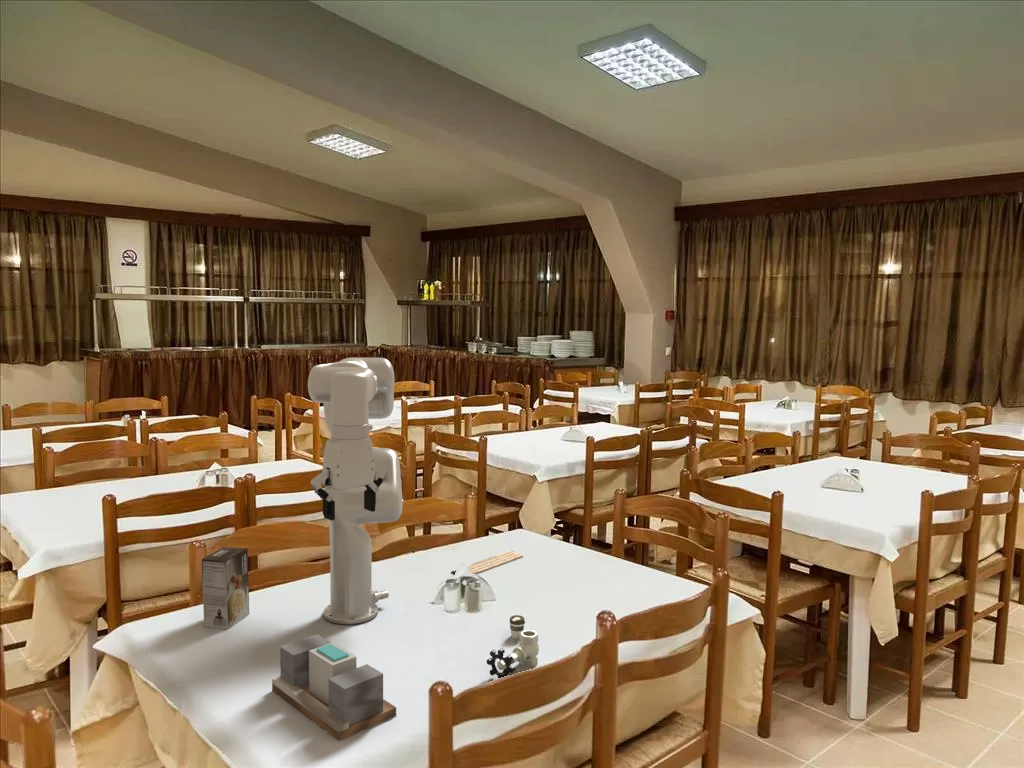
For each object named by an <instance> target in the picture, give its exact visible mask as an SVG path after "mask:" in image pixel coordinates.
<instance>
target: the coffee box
mask: <svg viewBox="0 0 1024 768" xmlns="http://www.w3.org/2000/svg"><path fill="white" fill-rule="evenodd" d="M248 550H249V548H246V547H245V548H243V547H232V546H231V547H230V546H222V547H220V548H219V549H217V550H216V551H214V552H212V553H210V554H208V555H207V556H204V557H203V558H201V572H202V574H201V577H202V600H203V601H202V603H203V605H202V606H203V627H205V628H212V629H222V630H224V629H225V630H229V629H231V628H232V627H234V626H235V625H236V624H238V623H239V622H241V620H243V619H244V618H246V617H247V616H249V615H250V590H249V589H250V588H249V587H250V586H249V584H250V583H249V551H248Z"/></svg>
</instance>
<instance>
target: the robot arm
mask: <svg viewBox="0 0 1024 768" xmlns="http://www.w3.org/2000/svg"><path fill="white" fill-rule="evenodd" d="M307 389H308V390H307V391H308V395H309V398H310V399H311V400H312V401H313V402H315V403H318V404H319V403H320V404H322V403H323V412H324V413H323V414H324V418H325V422H326V423H325V424H326V426H327V428H328V431H329V432H330V438H329V439H327V440H326V443H325V447H324V451H323V459H322V460H323V461H322V470H321V471H322V472H320V473H319V474H317V475H316V476H314V477H313V478H312V479H311V480H310V484H311V486H312V488H313V490H314V493H315V494H316V496H317V495H318V497H319V498H320V499H321V500H322V515H323V518H324V519H326V520H328V528H329V554H330V555H329V556H330V557H329V558H330V559H329V560H330V565H329V569H330V570H329V571H330V573H329V574H330V576H329V577H330V581H329V582H330V583H329V584H330V586H329V587H330V603H329V604H328V605H327V606H326V607H325V608H324V610H323V618H324V619H326V620H327V621H328V622H331V623H333V624H339V625H354V624H356V625H357V624H361V623H365V622H368V621H370V620H373V619H374V618H376V616H378V614H379V606H378V605H377V604H376V603H378V602H379V601H381V600H384V599H388V598H389V596H390V595H389V594H390V593H389V592H388V590H386V589H385V590H384V589H383V590H381V591H379V590H377V589H373V590H372V583H373V582H372V577H373V576H372V573H373V572H372V564H373V563H372V557H373V556H372V553H373V552H372V548H373V546H372V540H371V537H370V535H369V533H368V532H367V531H366V530H365V528H364V527H363V526H362V525H363V524H364V525H365V524H381V523H382V524H383V523H385V524H386V523H391V522H392V523H393V522H395V521H397V520H398V519H400V517H401V515H402V512H403V490H402V476H401V474H402V473H401V463H400V459H399V455H398V453H397V452H396V451H395V450H394V449H392V448H388V447H387V448H386V447H373V442H372V439H371V437H370V436H369V435H370V434H369V433H370V431H373V428H374V427H373V425H372V424H371V423H369V420H378V419H379V420H382V419H386V418H389V417H390V416H391V415H392V413H393V411H394V410H393V409H394V403H395V402H394V401H395V371H394V367H393V365H392V363H391V361H390V360H388V359H387V358H385V357H346V358H342V359H341V360H340V361H335V362H330V363H322V364H316V365H314V366H313V367H312V368H311V370H310V372H309V375H308V379H307ZM322 485H323V486H324V488H323V487H322ZM378 591H379V592H378Z"/></svg>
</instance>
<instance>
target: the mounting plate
mask: <svg viewBox="0 0 1024 768" xmlns="http://www.w3.org/2000/svg"><path fill="white" fill-rule="evenodd" d="M329 643H332V642H331V641H330V640H328V639H326V638H324V637H323V636H321V635H320V634H318V633H317V634H315V635H311V636H308V637H305V638H301V639H299V640H296V641H293V642H290V643H287V644H284V645H281V646H280V648H279V649H280V650H279V653H280V664H279V665H280V675H278V676H275V677H271V688H272V692H273V693H274V694H276V695H277V696H278V697H280V698H281V699H283V700H284V701H285V702H286V703H287V704H289V705H290V706H292V707H293V708H294V709H295V710H296V711H298V712H300V714H302V715H304V716H305V717H306V718H308V719H309V720H310V721H312V722H313V723H314V724H315V725H316V726H318V727H319V728H321V729H322V730H323V731H325V732H326V733H328V734H329V735H330V736H331V737H333V738H334V739H335V740H337V741H338V742H339V741H341V740H344V739H346V738H348V737H350V736H353V735H355V734H357V733H360V732H361V731H365V730H367V729H369V728H371V727H372V726H375V725H377V724H380V723H382V722H384V721H387V720H389V719H391V718H394V717H395V716H397V707H396V706H395V705H393V704H392V703H390V702H389V701H387V700H385V699H384V673H383V672H381V671H379V670H378V669H376V668H374V667H372V666H371V665H369V664H367V663H366V664H363V665H361V666H358V667H357V668H355V669H353V670H350V671H347V672H345V673H342V674H339V675H337V676H334V677H331V678H329V705H328V704H327V703H325V702H324V701H322V700H321V699H319V698H318V697H316V696H315V695H313V694H312V693H311V692H309V650H312V649H315V648H318V647H321V646H324V645H326V644H329Z"/></svg>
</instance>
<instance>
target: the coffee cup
mask: <svg viewBox="0 0 1024 768" xmlns="http://www.w3.org/2000/svg"><path fill="white" fill-rule="evenodd" d="M525 624H526V621H525V617H524V616H522V615H519V614H516V615H511V616H510V618H509V629H510V635H511V638H512V639H515V640H518V639H519V640H520V633H521V632H522V631H524V628H525Z"/></svg>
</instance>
